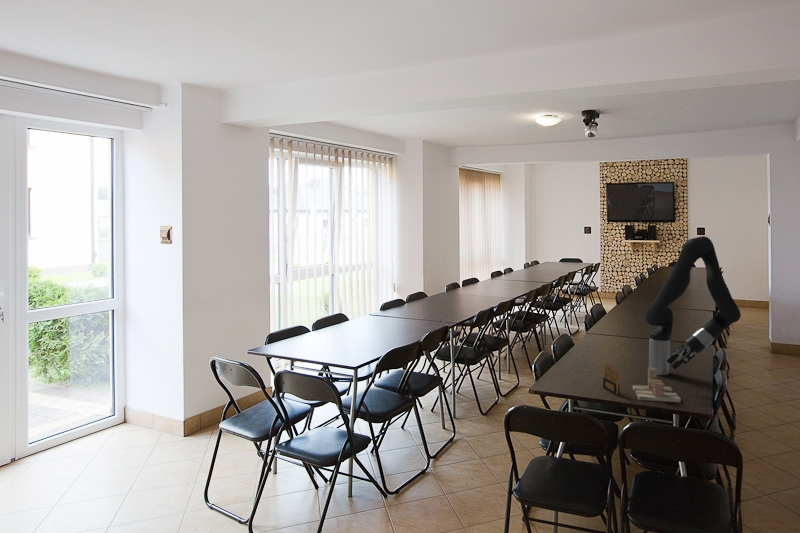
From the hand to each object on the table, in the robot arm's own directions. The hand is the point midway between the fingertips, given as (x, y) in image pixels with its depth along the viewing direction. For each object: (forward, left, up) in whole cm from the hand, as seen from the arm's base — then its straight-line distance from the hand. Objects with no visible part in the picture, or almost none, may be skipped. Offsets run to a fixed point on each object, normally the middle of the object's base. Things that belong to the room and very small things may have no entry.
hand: (670, 364), depth 242 cm
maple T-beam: (0, -7, -12) cm, 14 cm away
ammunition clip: (+5, -25, -12) cm, 29 cm away
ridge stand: (+11, -7, -12) cm, 18 cm away
